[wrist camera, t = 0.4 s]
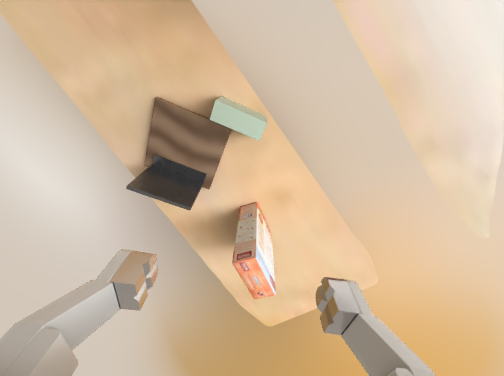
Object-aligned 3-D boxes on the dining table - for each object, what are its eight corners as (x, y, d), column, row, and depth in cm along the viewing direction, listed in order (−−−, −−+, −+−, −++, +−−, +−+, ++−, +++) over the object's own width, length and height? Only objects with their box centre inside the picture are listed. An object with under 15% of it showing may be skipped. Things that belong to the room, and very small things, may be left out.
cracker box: (238, 206, 60) (230, 263, 42) (257, 201, 59) (257, 257, 41) (254, 239, 67) (253, 301, 49) (272, 235, 66) (277, 296, 47)
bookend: (154, 154, 52) (128, 174, 41) (206, 173, 54) (194, 197, 44) (152, 166, 53) (126, 188, 43) (202, 185, 56) (190, 210, 45)
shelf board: (158, 97, 46) (155, 97, 45) (231, 128, 49) (231, 129, 48) (146, 163, 54) (144, 165, 53) (210, 187, 57) (209, 189, 56)
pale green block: (222, 95, 46) (215, 99, 39) (266, 115, 47) (267, 123, 41) (216, 112, 47) (209, 119, 41) (259, 131, 49) (259, 140, 42)
